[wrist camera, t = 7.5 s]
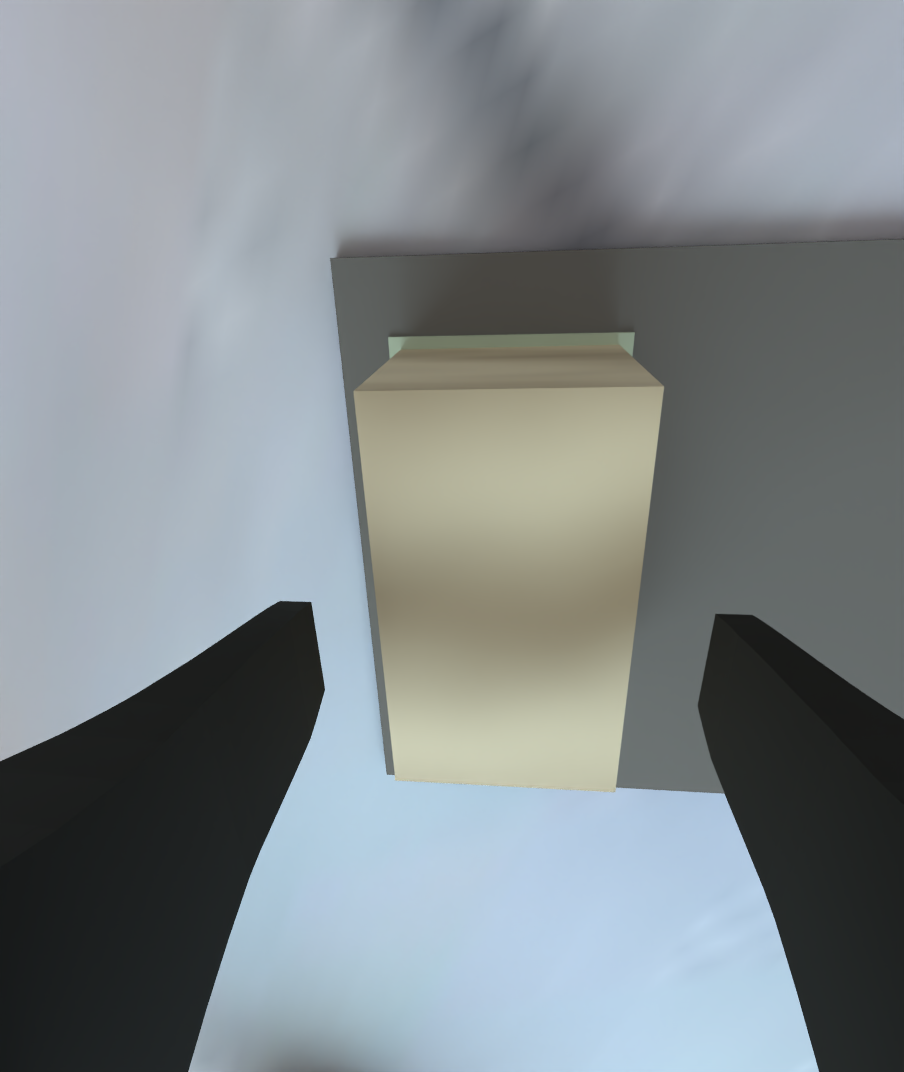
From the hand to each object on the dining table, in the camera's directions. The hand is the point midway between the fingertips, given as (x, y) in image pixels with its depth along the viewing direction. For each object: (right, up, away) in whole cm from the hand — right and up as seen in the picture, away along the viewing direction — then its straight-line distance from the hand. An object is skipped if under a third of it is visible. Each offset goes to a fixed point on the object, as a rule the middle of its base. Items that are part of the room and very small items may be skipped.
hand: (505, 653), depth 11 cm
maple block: (0, +2, +5) cm, 5 cm away
